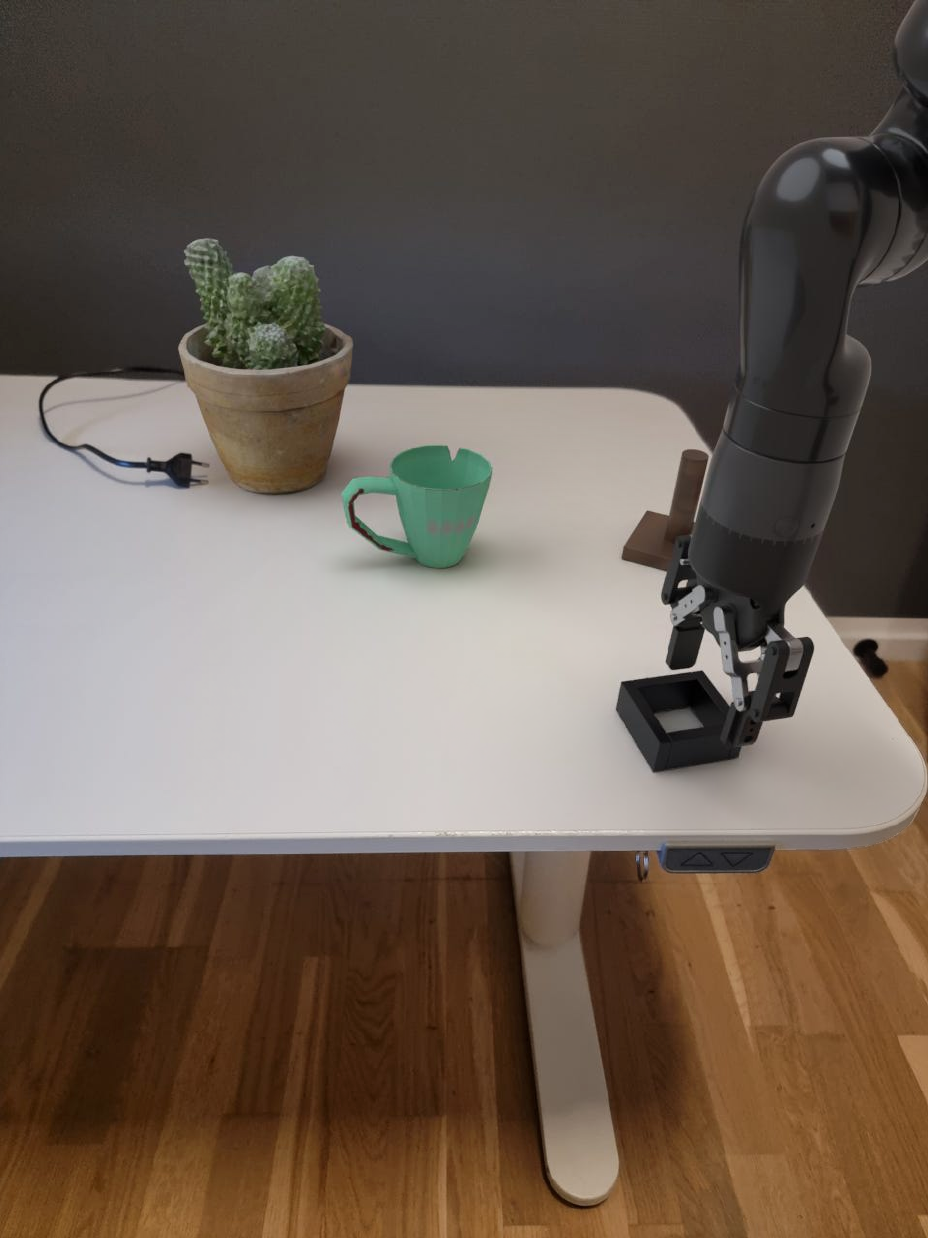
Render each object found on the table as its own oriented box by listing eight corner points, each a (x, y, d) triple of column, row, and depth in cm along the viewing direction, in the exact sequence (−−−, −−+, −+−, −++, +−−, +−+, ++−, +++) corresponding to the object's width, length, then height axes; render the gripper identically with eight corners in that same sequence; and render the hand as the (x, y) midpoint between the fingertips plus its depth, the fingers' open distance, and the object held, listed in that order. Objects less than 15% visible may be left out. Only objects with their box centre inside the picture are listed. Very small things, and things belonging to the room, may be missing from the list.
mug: (467, 526, 93) (471, 440, 88) (500, 573, 86) (508, 482, 80) (333, 544, 89) (329, 455, 83) (357, 596, 82) (353, 502, 76)
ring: (738, 758, 66) (748, 729, 64) (652, 772, 65) (660, 743, 63) (695, 697, 72) (702, 669, 70) (615, 709, 70) (620, 681, 68)
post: (725, 542, 93) (749, 447, 87) (707, 582, 87) (732, 483, 80) (644, 521, 96) (662, 428, 90) (621, 558, 89) (638, 461, 83)
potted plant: (361, 442, 110) (356, 231, 95) (350, 513, 95) (342, 275, 80) (215, 438, 109) (187, 224, 94) (180, 508, 94) (141, 267, 79)
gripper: (889, 561, 48) (806, 765, 58) (757, 451, 59) (705, 638, 69) (771, 574, 47) (705, 782, 56) (658, 458, 58) (619, 649, 67)
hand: (705, 702), depth 63 cm, fingers open, 8 cm apart
